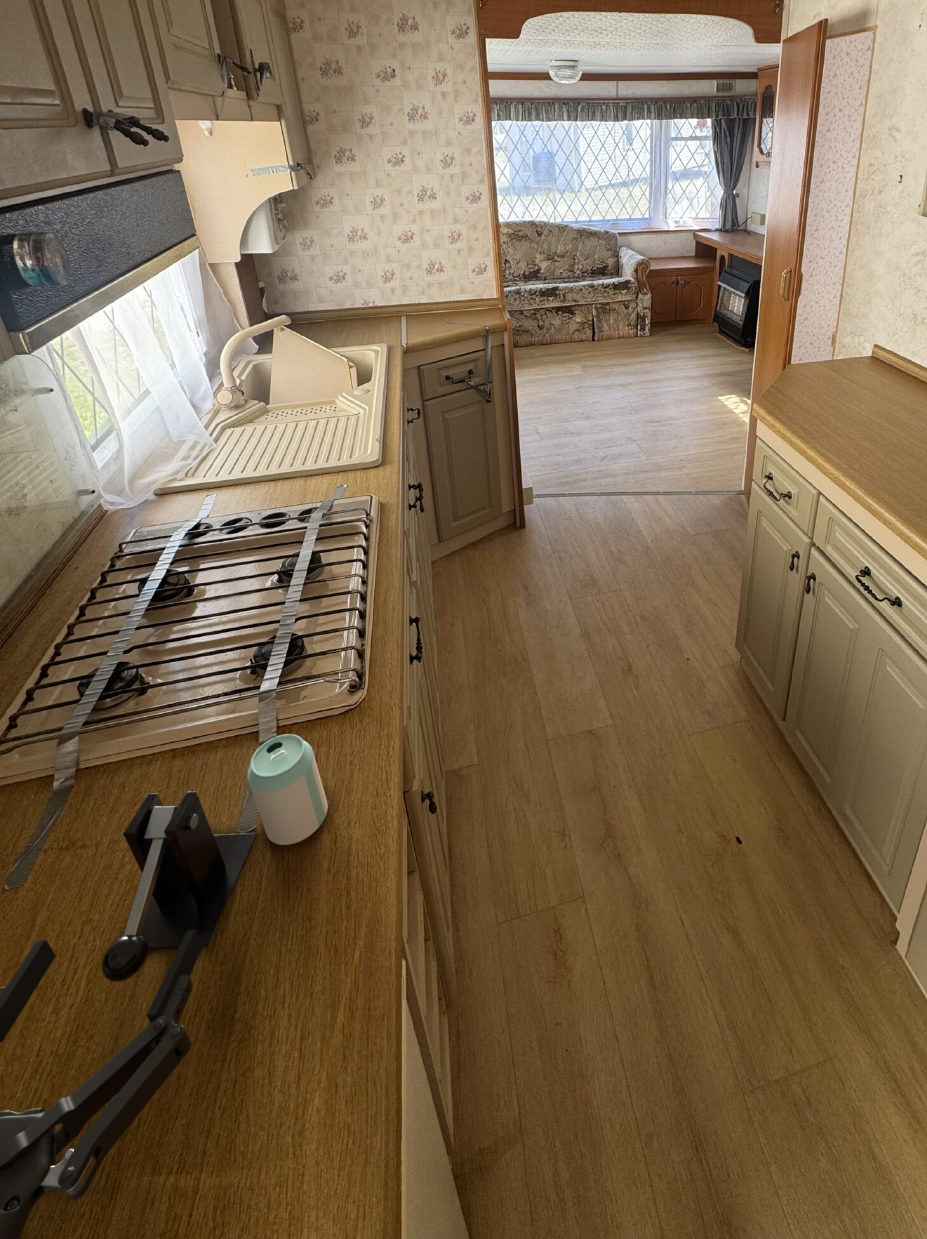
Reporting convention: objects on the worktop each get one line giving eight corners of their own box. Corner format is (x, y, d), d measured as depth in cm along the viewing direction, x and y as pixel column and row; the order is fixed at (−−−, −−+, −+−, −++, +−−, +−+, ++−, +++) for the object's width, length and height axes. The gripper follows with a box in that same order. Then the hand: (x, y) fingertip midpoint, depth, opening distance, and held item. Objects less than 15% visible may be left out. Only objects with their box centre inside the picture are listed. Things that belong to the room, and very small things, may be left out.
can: (254, 843, 79) (229, 774, 74) (292, 791, 85) (271, 724, 80) (305, 856, 78) (284, 787, 73) (340, 801, 84) (322, 734, 79)
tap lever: (148, 978, 63) (126, 982, 60) (109, 981, 63) (86, 984, 60) (195, 808, 71) (178, 804, 69) (161, 810, 71) (143, 806, 68)
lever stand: (210, 951, 69) (172, 868, 63) (121, 956, 68) (76, 873, 63) (260, 838, 80) (232, 759, 74) (184, 842, 79) (149, 763, 74)
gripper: (-252, 1345, 44) (-1, 974, 63) (133, 1313, 45) (264, 957, 64) (-318, 1305, 41) (-33, 927, 60) (96, 1271, 42) (246, 911, 61)
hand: (121, 942), depth 62 cm, fingers open, 13 cm apart
